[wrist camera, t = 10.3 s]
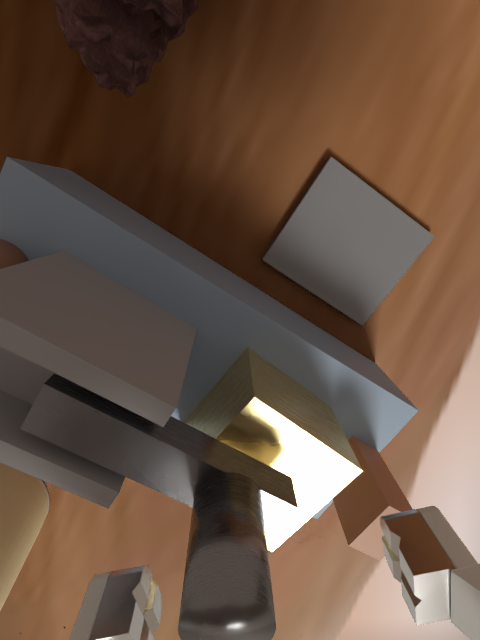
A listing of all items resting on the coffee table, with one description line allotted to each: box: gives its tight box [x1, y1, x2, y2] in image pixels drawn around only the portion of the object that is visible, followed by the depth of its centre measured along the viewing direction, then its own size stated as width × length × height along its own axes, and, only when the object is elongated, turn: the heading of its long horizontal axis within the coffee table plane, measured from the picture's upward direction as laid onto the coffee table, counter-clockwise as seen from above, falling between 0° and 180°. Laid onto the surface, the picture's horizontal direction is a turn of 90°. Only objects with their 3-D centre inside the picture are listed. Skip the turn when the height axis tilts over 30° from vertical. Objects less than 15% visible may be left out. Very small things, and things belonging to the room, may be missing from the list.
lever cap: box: [184, 347, 363, 552], centre depth 14 cm, size 5×5×4 cm
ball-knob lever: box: [20, 373, 298, 640], centre depth 9 cm, size 2×8×4 cm, turn 57°
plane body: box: [0, 157, 419, 560], centre depth 15 cm, size 8×20×11 cm, turn 57°
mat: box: [262, 157, 434, 326], centre depth 18 cm, size 6×7×1 cm
